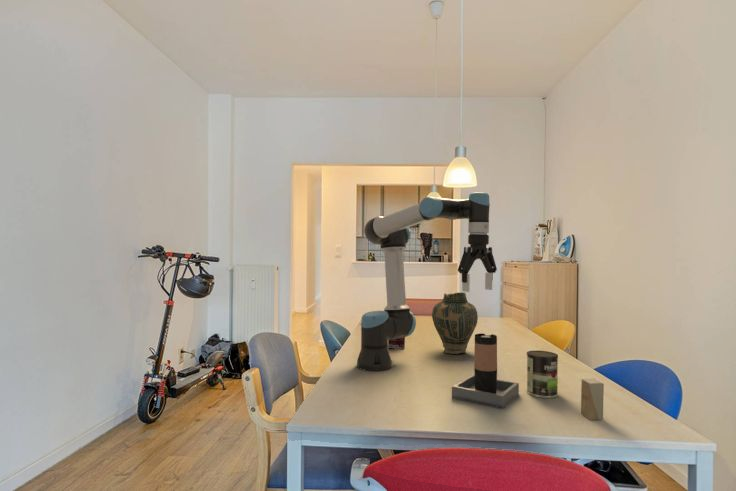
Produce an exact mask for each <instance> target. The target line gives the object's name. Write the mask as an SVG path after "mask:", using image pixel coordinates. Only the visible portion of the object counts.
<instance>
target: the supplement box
mask: <svg viewBox="0 0 736 491" xmlns="http://www.w3.org/2000/svg"><path fill="white" fill-rule="evenodd" d="M405 343H406V337H404V338H397V339H392V340H388V348H395V350H405V348H406V347H405V346H406V344H405Z"/></svg>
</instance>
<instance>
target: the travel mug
mask: <svg viewBox="0 0 736 491" xmlns="http://www.w3.org/2000/svg"><path fill="white" fill-rule="evenodd" d="M473 359H474V365H473V366H474V368H473V369H474V370H473V371H474V375H475V390H478V391H483V392H489V393H494V394H496V391H497V379H498V336H497V335H496V334H494V333H493V334H490V335H489V334H488V335H487V334H485V333H476V334H474V358H473Z"/></svg>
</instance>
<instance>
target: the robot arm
mask: <svg viewBox="0 0 736 491" xmlns="http://www.w3.org/2000/svg"><path fill="white" fill-rule="evenodd" d="M490 205H491V204H490V195H489V193H487V192H478V191H477V192H470V193H469V195H468V198H467V199H454V198H453V199H452V198H445V197H444V198H443V197H438V196H425V197H423V199H422V200H420V202H419V203H417V204H414V205H411V206H409V207H406V208H403V209H401V210H399V211H396V212H394V213H391V214H388V215H385V216H381V215H380V216H376V217H373V218H371V219H369V220H368V221H367V222H366V224H365V226H364V230H363V232H364V236H365V238H366V239H367V240H368V242H370V243H371V244H374V245H380V251H382V252H383V253H384V254H383V256H384V269H385V270H384V271H385V287H386V288H385V289H386V291H385V292H386V303H387V304H386V306H385V307H384V308H383V310H372V311H368V312H365V313H364V314H363V315H362V316H361V319H360V320H361V322H360V326H361V327H360V332H361V334H360V335H361V337H360V340H361V341H360V343H361V344H360V352H359V355H358V357H357V361H356V367H357V366H358V367H359V368H358V367H357V368H358V369H360V368H361V370H363V369H365V370H364V371H369V370H374V372H375V371H376V372H377V371H378V372H379V370H381V371H386V370H390V369H391V368H392V367H393V361H392V358H391V354H390V351H389V350H390V349H388V340H392V339H397V338H404V337H405V338H406V337H410V336H411V335H412V334H413V333H414V332H415V329H416V326H417V320H416V317H415V315H414V313H413V312H411V311H410V306H409V305H408V304H407V299H406V284H405V282H406V281H405V263H404V251H405V249H407V246H406V245H407V244H408V243H409V241H410V240H411V229H410V227H413V226H416V225H420V224H422V223H424V222H427V221H431V220H434V219H438V218H439V219H446V220H453V221H454V220H455V221H456V220H465V219H466V220H467V219H468V226H467V230H468V231H467V232H468V233H469V235H467V236H468V238H467V240H468V241H467V244H468V245H469V246H464V247H463V254H462V255H461V258H460V259H461V260H460V262H459V265H458V268H457V272H458V273H459V274H461V282H462V284H461V285H462V286H461V287H462V288H461V292H464V293H468V292H469V293H470V286H471V285H470V282H471V280H470V279H471V277H470V275H471V274H470V273H469V272H470V270H471V268H472V266H473V265H474V262H475V261H476V260H480V261H481V263H482V265H483V267H484V268H485V271H486V272H485V274H484V275H485V280H484V282H485V283H484V284H485V285H484V289H485V290H487V291H493V278H494V277H493V275H494V274H496V272H497V271H498V268H497V265H496V261H495V258H494V255H493V247H492V246H487V245H489V244H490V235H489V232H490V229H489V228H490Z"/></svg>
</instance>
